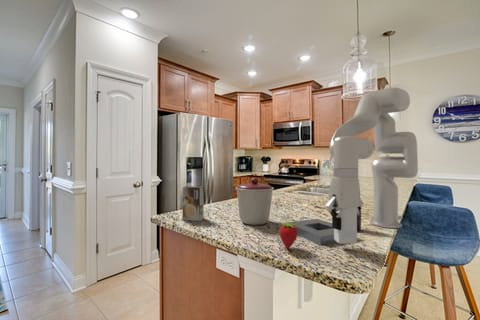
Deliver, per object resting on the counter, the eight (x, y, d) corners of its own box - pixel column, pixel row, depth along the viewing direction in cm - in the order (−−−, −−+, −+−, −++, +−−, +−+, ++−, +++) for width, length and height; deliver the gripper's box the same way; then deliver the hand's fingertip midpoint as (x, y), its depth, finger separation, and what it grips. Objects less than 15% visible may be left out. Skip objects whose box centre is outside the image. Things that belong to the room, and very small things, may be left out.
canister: (238, 217, 120) (238, 176, 120) (273, 218, 118) (273, 177, 118) (232, 226, 102) (232, 178, 102) (273, 228, 100) (274, 179, 100)
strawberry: (296, 245, 80) (296, 216, 80) (298, 253, 72) (298, 221, 72) (279, 244, 81) (279, 215, 81) (278, 252, 73) (279, 220, 74)
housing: (317, 225, 106) (317, 218, 106) (355, 238, 88) (355, 230, 88) (285, 229, 98) (285, 222, 98) (320, 245, 80) (320, 236, 80)
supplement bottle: (363, 232, 96) (363, 203, 96) (345, 231, 97) (345, 202, 97) (358, 227, 102) (358, 200, 102) (341, 226, 104) (341, 199, 104)
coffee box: (204, 218, 117) (204, 186, 117) (199, 221, 111) (200, 187, 111) (186, 217, 118) (187, 185, 119) (181, 220, 112) (182, 187, 112)
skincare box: (351, 239, 79) (351, 204, 79) (357, 244, 74) (358, 206, 75) (333, 239, 79) (333, 203, 79) (338, 244, 74) (338, 206, 75)
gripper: (353, 173, 84) (353, 222, 84) (317, 173, 77) (316, 227, 76) (373, 174, 77) (373, 227, 77) (335, 174, 70) (335, 234, 70)
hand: (345, 227), depth 77 cm, fingers closed on skincare box, 7 cm apart
